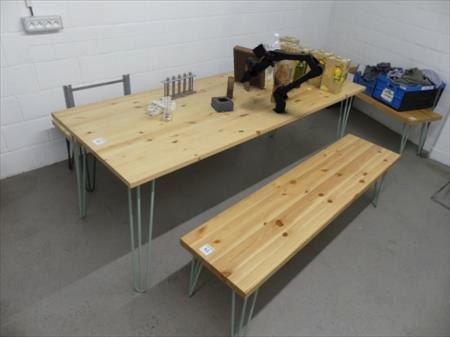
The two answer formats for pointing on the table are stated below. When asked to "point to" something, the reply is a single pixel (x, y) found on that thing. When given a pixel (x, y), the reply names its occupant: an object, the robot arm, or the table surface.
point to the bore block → (222, 103)
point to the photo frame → (246, 67)
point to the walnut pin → (230, 87)
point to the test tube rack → (179, 85)
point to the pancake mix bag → (280, 75)
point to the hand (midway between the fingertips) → (243, 80)
